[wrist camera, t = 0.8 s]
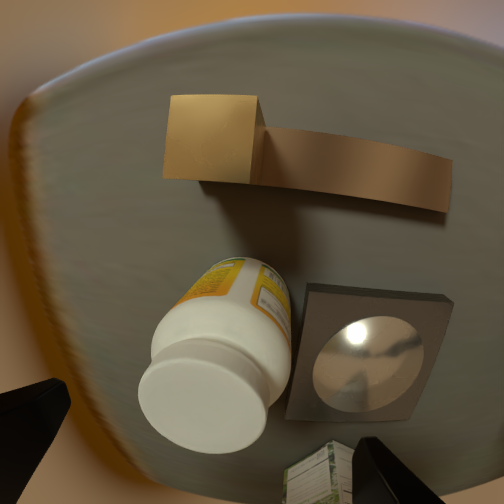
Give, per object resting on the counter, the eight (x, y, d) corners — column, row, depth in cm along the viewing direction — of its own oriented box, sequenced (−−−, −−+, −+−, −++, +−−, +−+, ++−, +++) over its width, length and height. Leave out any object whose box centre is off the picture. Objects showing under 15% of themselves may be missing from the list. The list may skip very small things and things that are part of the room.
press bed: (443, 294, 16) (455, 303, 14) (403, 406, 18) (409, 419, 16) (307, 282, 16) (309, 292, 15) (284, 405, 18) (284, 420, 17)
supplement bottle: (302, 271, 16) (324, 374, 7) (272, 351, 18) (260, 480, 8) (209, 242, 16) (124, 308, 7) (188, 324, 18) (117, 432, 8)
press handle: (265, 125, 14) (257, 95, 9) (260, 185, 14) (249, 183, 10) (206, 122, 14) (171, 95, 9) (200, 180, 15) (162, 178, 10)
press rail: (444, 161, 14) (452, 160, 13) (439, 211, 15) (447, 213, 14) (202, 127, 15) (197, 123, 14) (197, 180, 16) (192, 180, 15)
